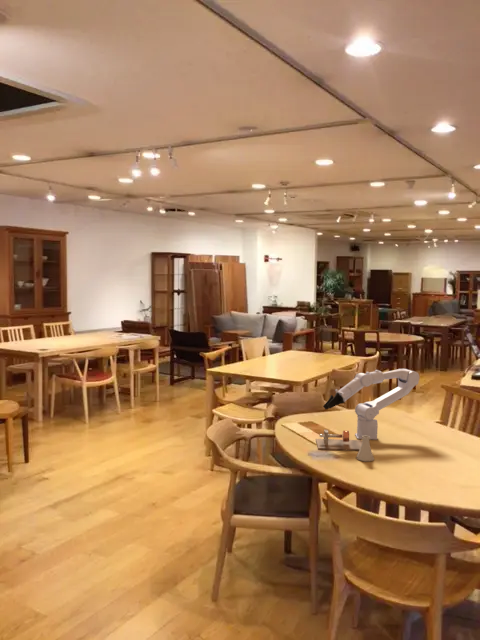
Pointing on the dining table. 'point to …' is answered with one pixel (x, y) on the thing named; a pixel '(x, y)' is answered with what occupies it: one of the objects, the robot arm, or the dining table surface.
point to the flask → (365, 450)
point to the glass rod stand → (339, 436)
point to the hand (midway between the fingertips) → (326, 407)
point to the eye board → (337, 444)
